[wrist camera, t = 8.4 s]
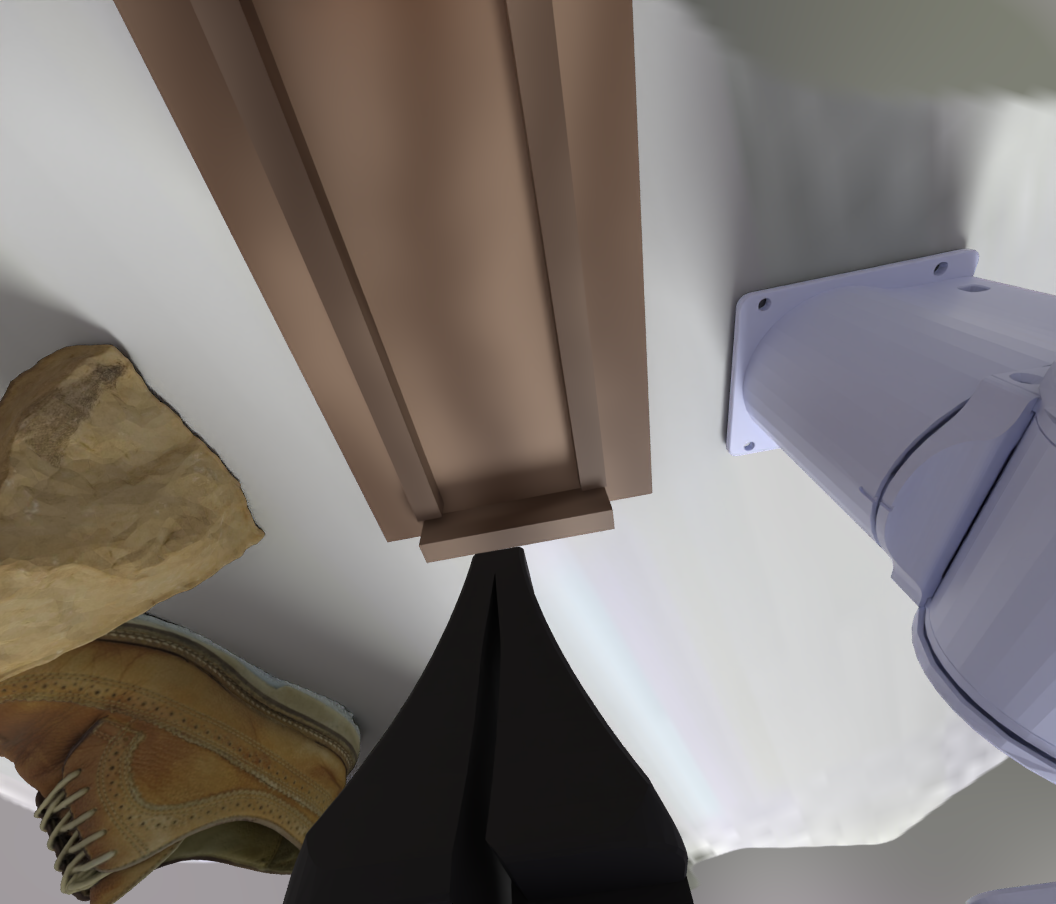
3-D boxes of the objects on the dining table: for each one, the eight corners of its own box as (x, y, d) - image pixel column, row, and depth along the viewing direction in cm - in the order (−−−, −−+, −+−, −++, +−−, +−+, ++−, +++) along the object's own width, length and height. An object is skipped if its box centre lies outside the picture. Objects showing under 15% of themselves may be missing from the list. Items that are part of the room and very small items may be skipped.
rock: (-100, 307, 15) (-61, 544, 18) (-160, 434, 10) (-89, 721, 13) (265, 351, 23) (241, 509, 26) (332, 432, 18) (291, 612, 21)
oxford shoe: (402, 706, 34) (367, 914, 25) (331, 754, 38) (277, 951, 29) (-53, 532, 23) (-447, 801, 13) (-92, 626, 26) (-424, 889, 17)
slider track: (598, -491, 9) (637, -736, 7) (646, 481, 23) (664, 519, 21) (-18, -309, 10) (-192, -470, 7) (391, 529, 24) (379, 571, 22)
